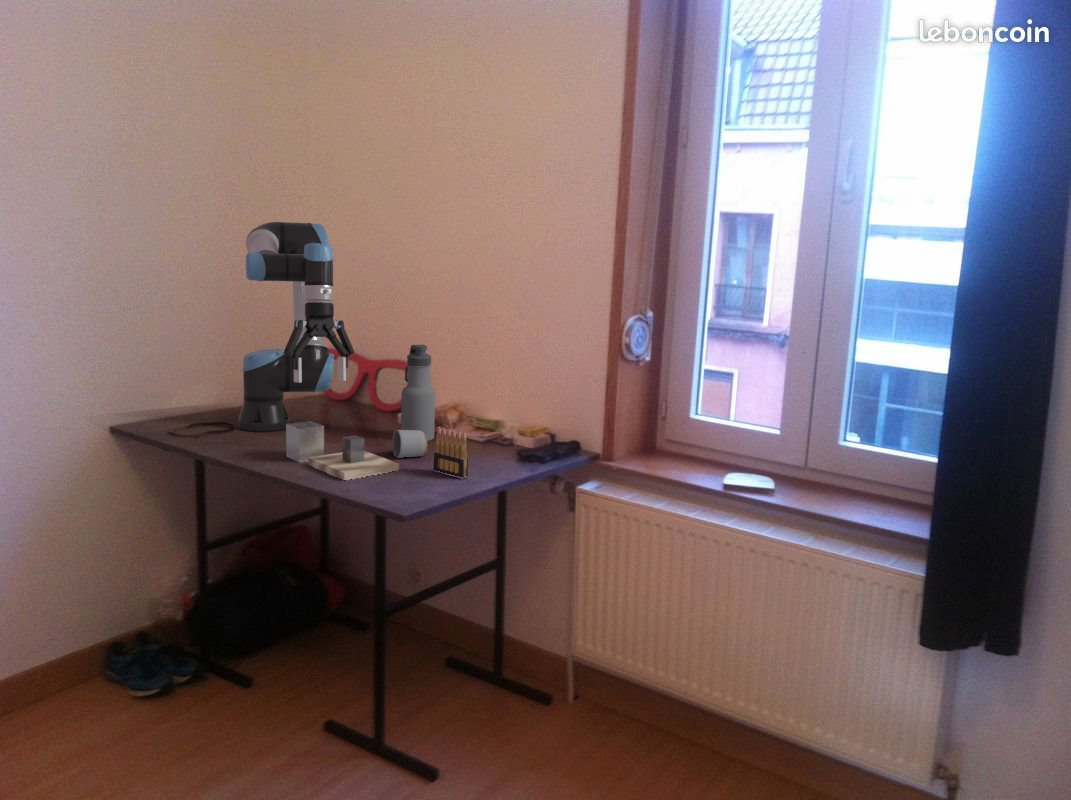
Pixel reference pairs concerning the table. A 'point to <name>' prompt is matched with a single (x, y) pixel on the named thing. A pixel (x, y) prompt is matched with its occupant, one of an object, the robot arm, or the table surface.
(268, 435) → the table surface
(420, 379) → the water bottle
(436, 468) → the ammunition clip
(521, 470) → the table surface
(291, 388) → the robot arm
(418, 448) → the ceramic mug
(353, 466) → the base
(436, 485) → the table surface
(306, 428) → the mottled grey cube
